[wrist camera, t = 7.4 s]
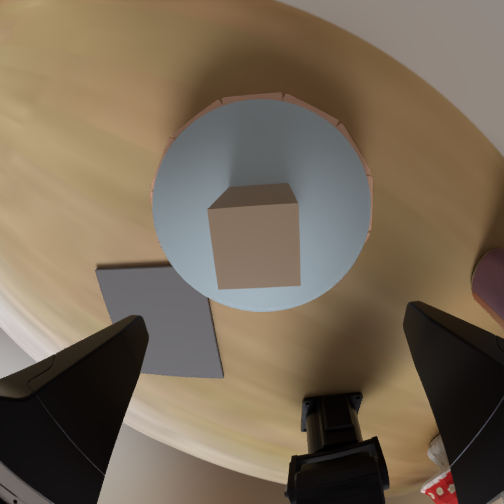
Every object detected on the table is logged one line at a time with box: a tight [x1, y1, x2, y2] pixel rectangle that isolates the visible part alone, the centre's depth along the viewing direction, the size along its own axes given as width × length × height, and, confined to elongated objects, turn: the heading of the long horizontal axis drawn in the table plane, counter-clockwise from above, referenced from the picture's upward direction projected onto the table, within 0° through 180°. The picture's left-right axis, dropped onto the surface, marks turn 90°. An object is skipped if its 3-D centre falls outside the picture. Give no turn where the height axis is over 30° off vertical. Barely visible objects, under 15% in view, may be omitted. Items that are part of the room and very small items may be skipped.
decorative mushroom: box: [421, 435, 458, 504], centre depth 24 cm, size 14×14×15 cm
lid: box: [152, 99, 371, 312], centre depth 12 cm, size 11×11×6 cm
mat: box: [95, 265, 224, 378], centre depth 24 cm, size 12×10×1 cm
